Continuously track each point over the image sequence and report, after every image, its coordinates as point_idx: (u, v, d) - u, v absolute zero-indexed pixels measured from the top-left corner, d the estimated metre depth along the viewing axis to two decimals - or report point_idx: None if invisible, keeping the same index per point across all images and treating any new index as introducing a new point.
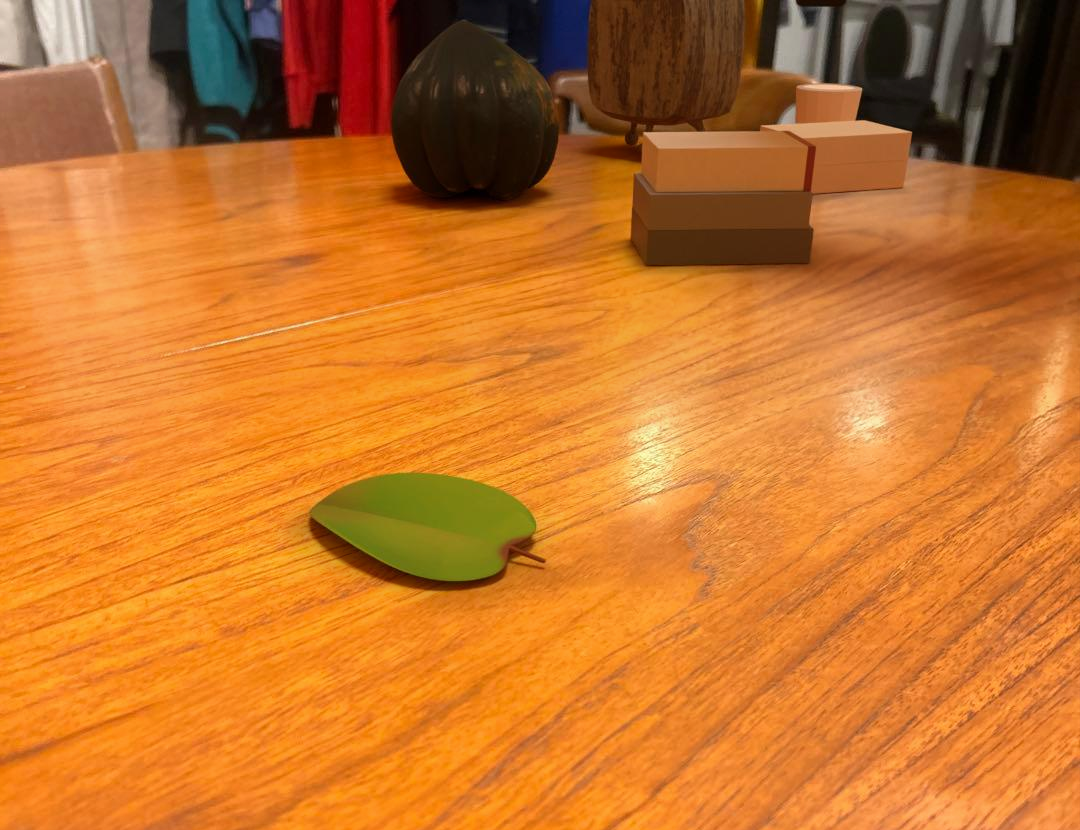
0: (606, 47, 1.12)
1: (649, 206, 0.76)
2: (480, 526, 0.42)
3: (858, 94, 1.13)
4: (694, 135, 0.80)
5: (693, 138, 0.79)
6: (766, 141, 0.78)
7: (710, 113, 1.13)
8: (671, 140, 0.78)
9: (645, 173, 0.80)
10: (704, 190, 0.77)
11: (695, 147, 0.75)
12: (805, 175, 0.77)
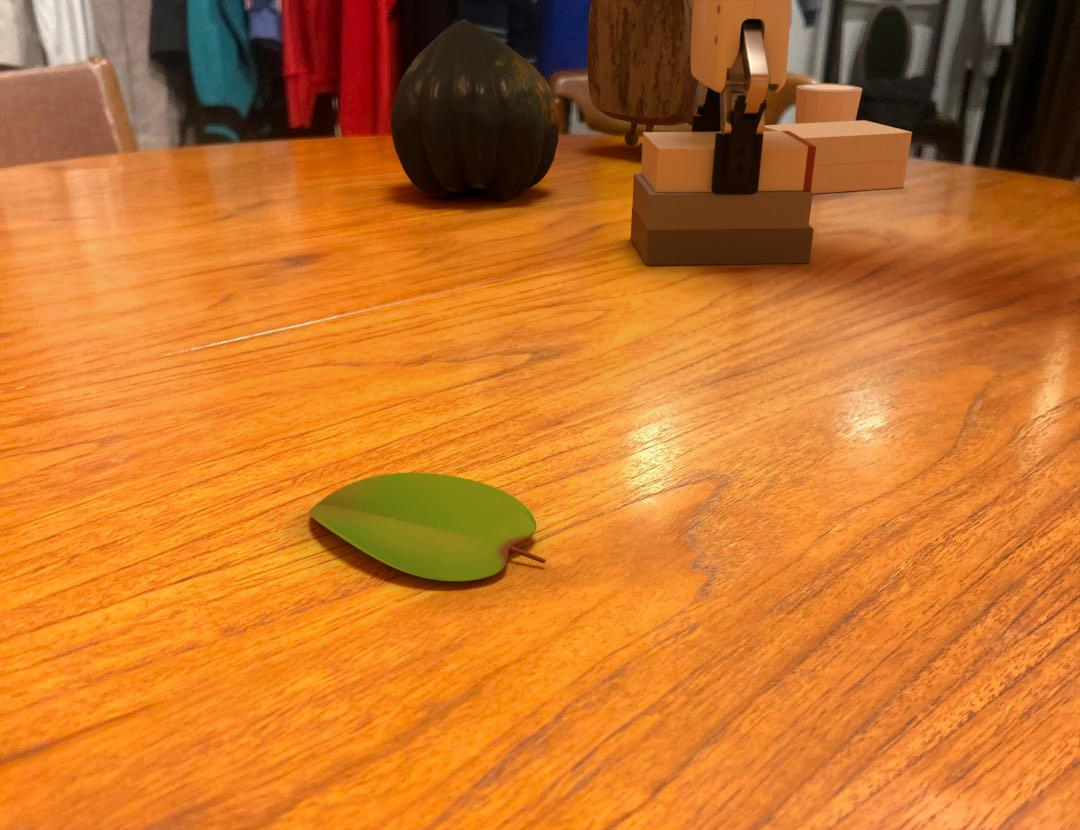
0: (606, 47, 1.12)
1: (649, 206, 0.76)
2: (480, 526, 0.42)
3: (858, 94, 1.13)
4: (694, 135, 0.80)
5: (693, 138, 0.79)
6: (766, 141, 0.78)
7: None
8: (671, 140, 0.78)
9: (645, 173, 0.80)
10: (704, 190, 0.77)
11: (695, 147, 0.75)
12: (805, 175, 0.77)
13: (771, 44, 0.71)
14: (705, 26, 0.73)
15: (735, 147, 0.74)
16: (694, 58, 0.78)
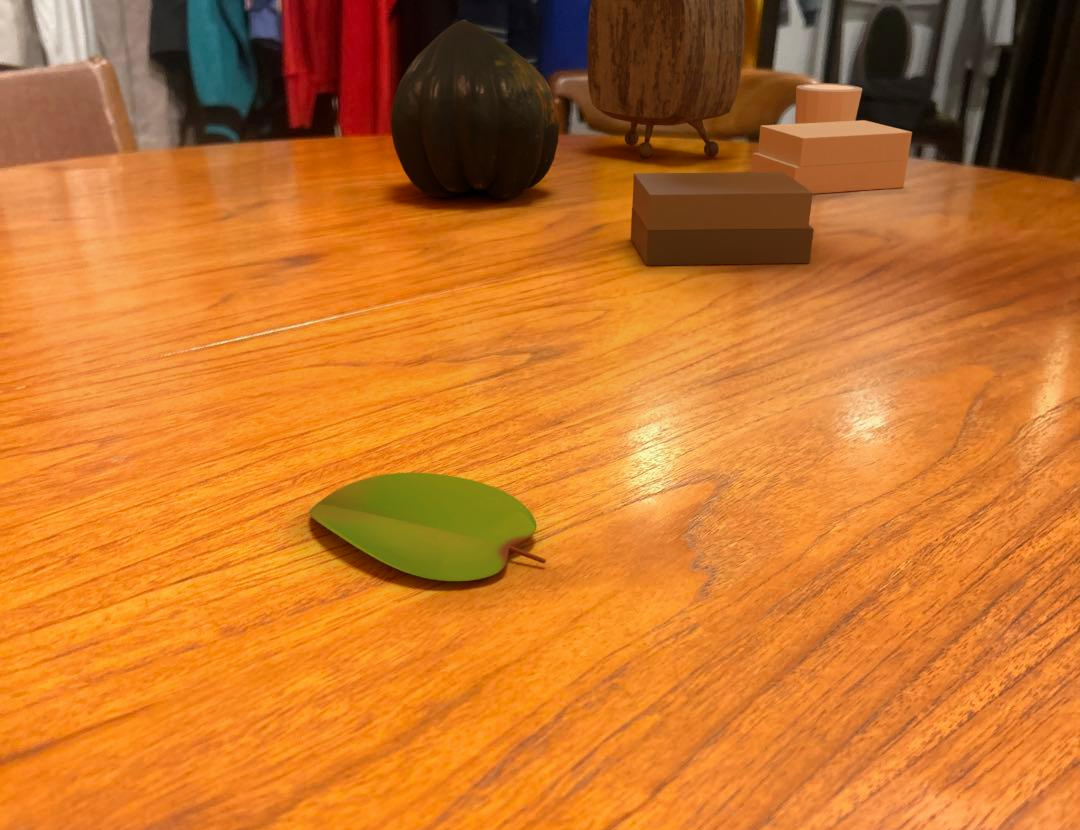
0: (606, 47, 1.12)
1: (649, 206, 0.76)
2: (480, 526, 0.42)
3: (858, 94, 1.13)
4: None
5: None
6: None
7: (710, 113, 1.13)
8: None
9: None
10: None
11: None
12: None
13: None
14: None
15: None
16: None
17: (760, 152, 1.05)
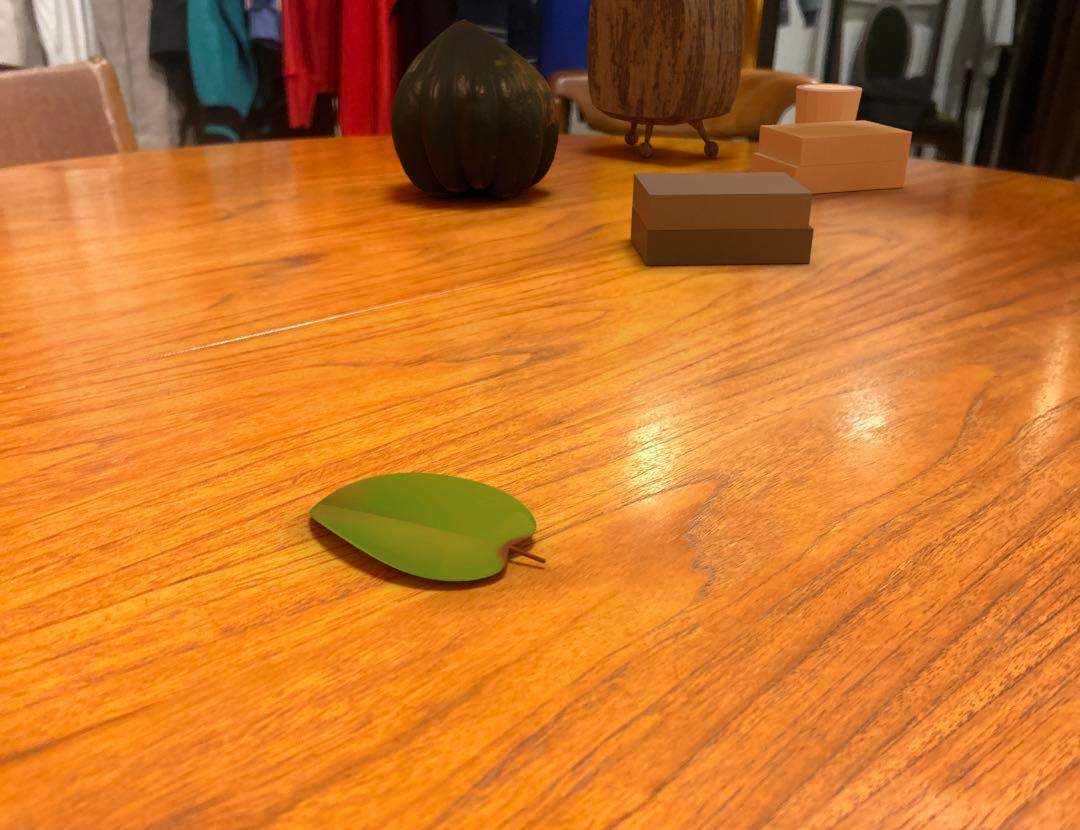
0: (606, 47, 1.12)
1: (649, 206, 0.76)
2: (480, 526, 0.42)
3: (858, 94, 1.13)
4: None
5: None
6: None
7: (710, 113, 1.13)
8: None
9: None
10: None
11: None
12: None
13: None
14: None
15: None
16: None
17: (760, 152, 1.05)
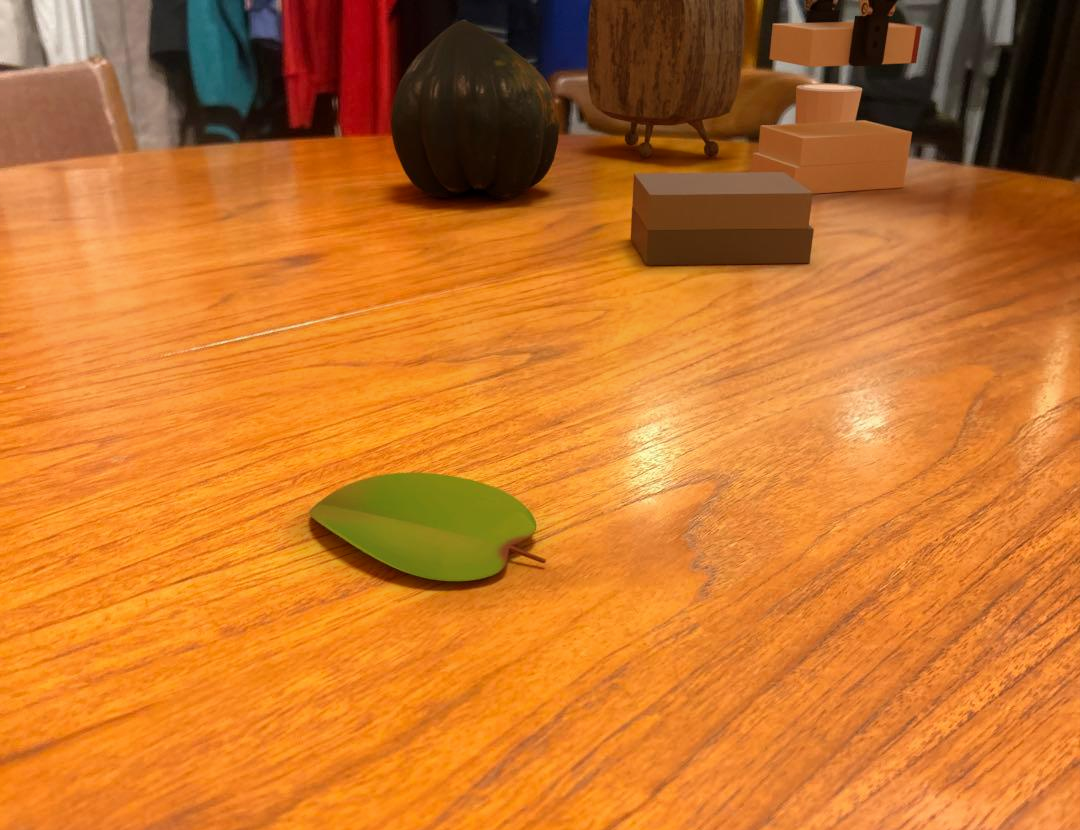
0: (606, 47, 1.12)
1: (649, 206, 0.76)
2: (480, 526, 0.42)
3: (858, 94, 1.13)
4: (816, 24, 0.99)
5: (821, 25, 0.98)
6: None
7: (710, 113, 1.13)
8: (808, 26, 0.97)
9: (781, 56, 0.99)
10: (843, 64, 0.96)
11: (838, 28, 0.95)
12: (913, 50, 0.98)
13: None
14: None
15: (873, 26, 0.94)
16: None
17: (760, 152, 1.05)
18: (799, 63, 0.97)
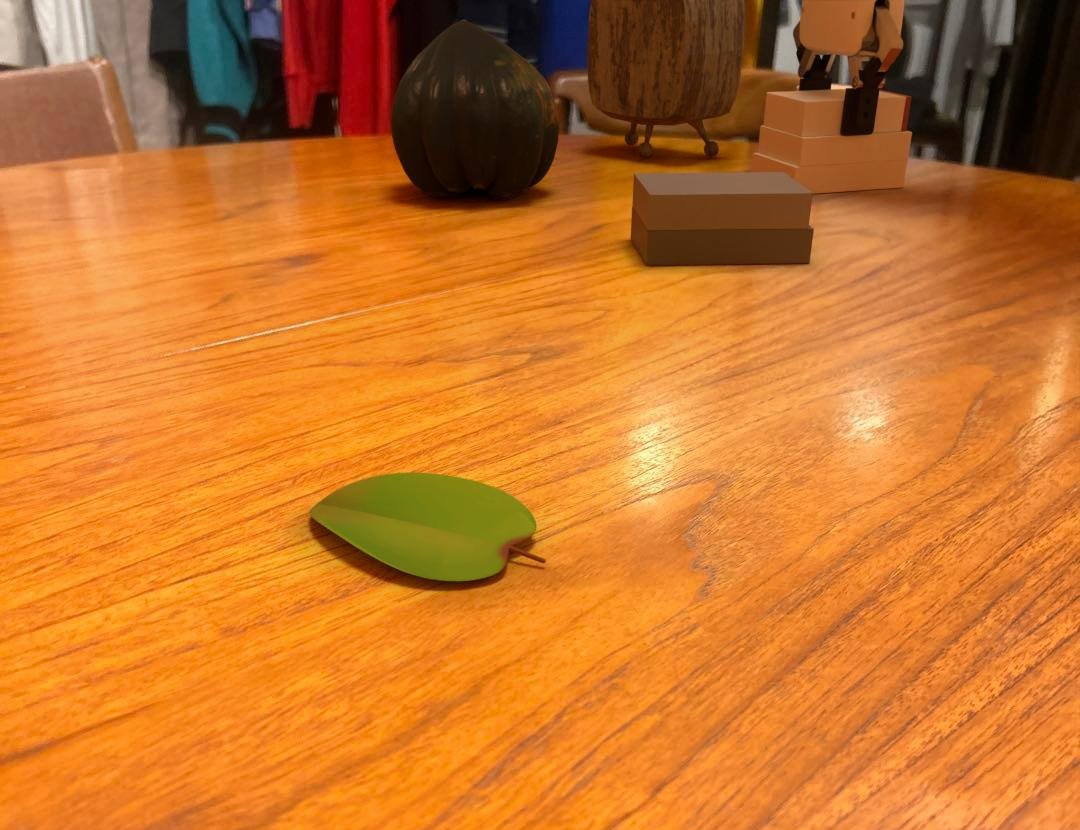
0: (606, 47, 1.12)
1: (649, 206, 0.76)
2: (480, 526, 0.42)
3: None
4: (809, 92, 1.02)
5: (813, 94, 1.01)
6: None
7: (710, 113, 1.13)
8: (801, 96, 1.00)
9: (775, 124, 1.02)
10: (834, 133, 0.99)
11: (830, 100, 0.98)
12: (903, 119, 1.01)
13: (893, 17, 0.94)
14: (836, 5, 0.95)
15: (863, 98, 0.97)
16: (810, 31, 1.00)
17: (760, 152, 1.05)
18: (792, 132, 0.99)
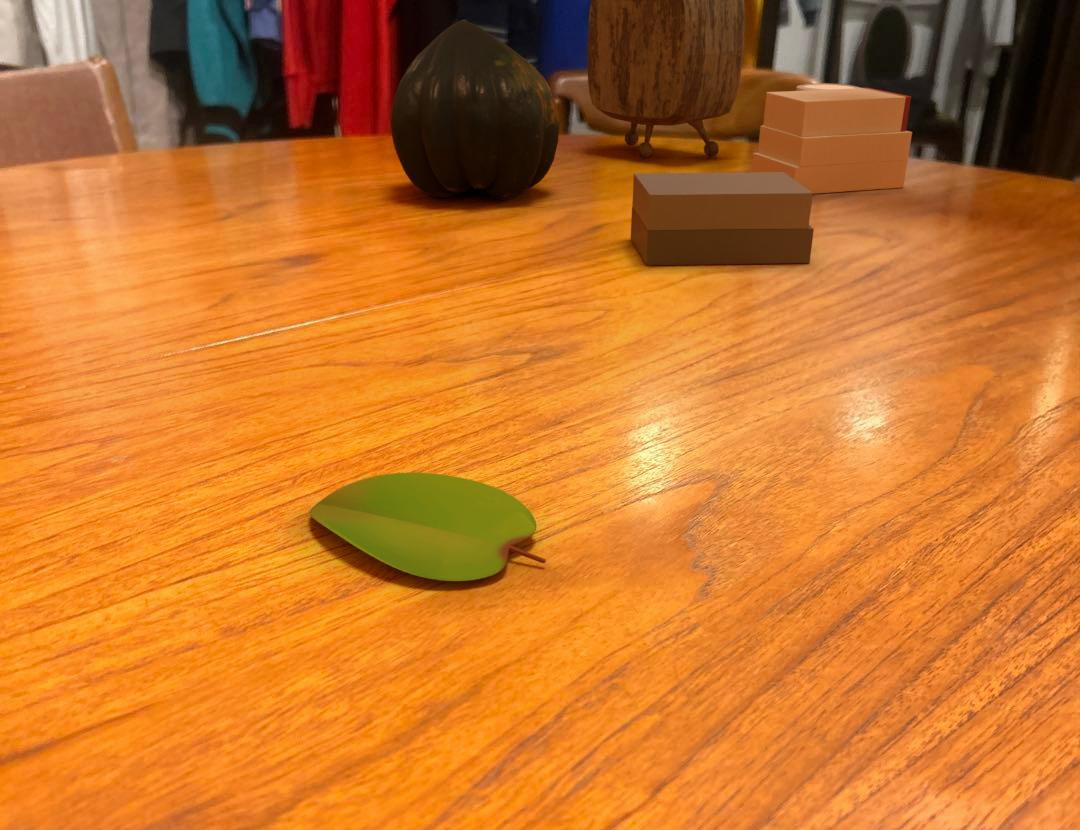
0: (606, 47, 1.12)
1: (649, 206, 0.76)
2: (480, 526, 0.42)
3: None
4: (809, 92, 1.02)
5: (813, 94, 1.01)
6: (869, 94, 1.01)
7: (710, 113, 1.13)
8: (801, 96, 1.00)
9: (774, 124, 1.02)
10: (834, 133, 0.99)
11: (829, 100, 0.98)
12: (903, 119, 1.01)
13: None
14: None
15: None
16: None
17: (760, 152, 1.05)
18: (792, 132, 0.99)
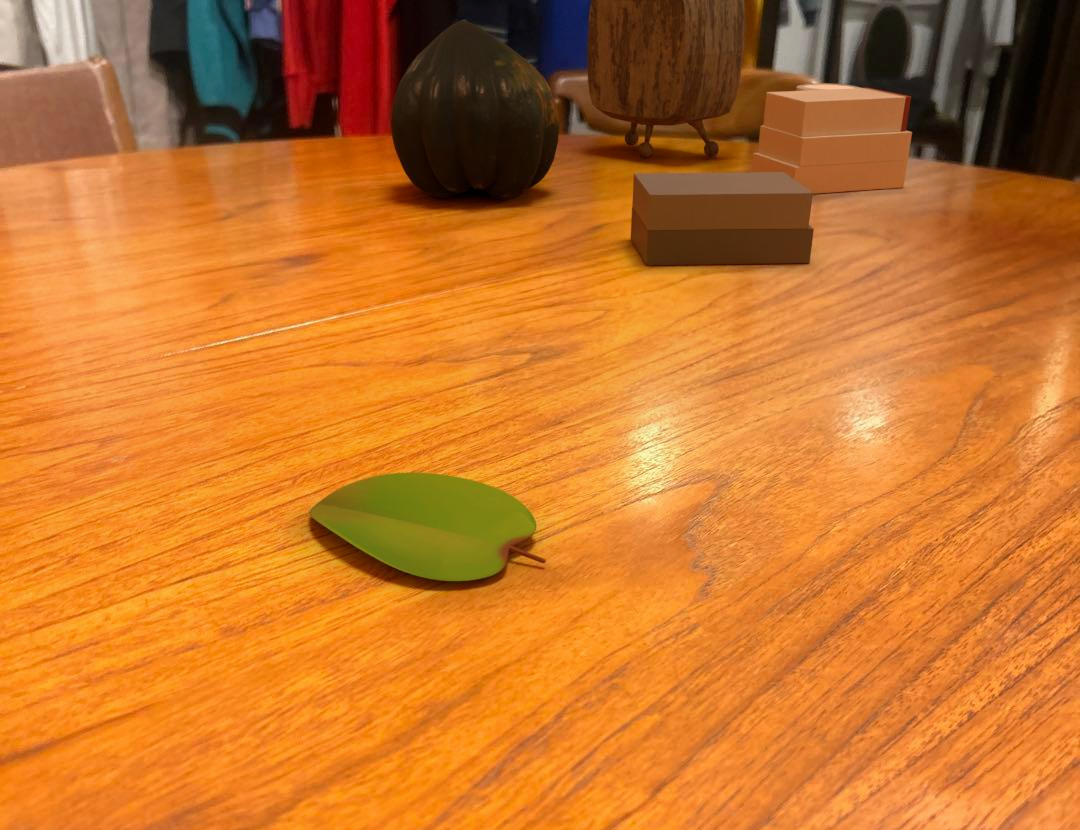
0: (606, 47, 1.12)
1: (649, 206, 0.76)
2: (480, 526, 0.42)
3: None
4: (809, 92, 1.02)
5: (813, 94, 1.01)
6: (869, 94, 1.01)
7: (710, 113, 1.13)
8: (801, 96, 1.00)
9: (774, 124, 1.02)
10: (834, 133, 0.99)
11: (829, 100, 0.98)
12: (903, 119, 1.01)
13: None
14: None
15: None
16: None
17: (760, 152, 1.05)
18: (792, 132, 0.99)
